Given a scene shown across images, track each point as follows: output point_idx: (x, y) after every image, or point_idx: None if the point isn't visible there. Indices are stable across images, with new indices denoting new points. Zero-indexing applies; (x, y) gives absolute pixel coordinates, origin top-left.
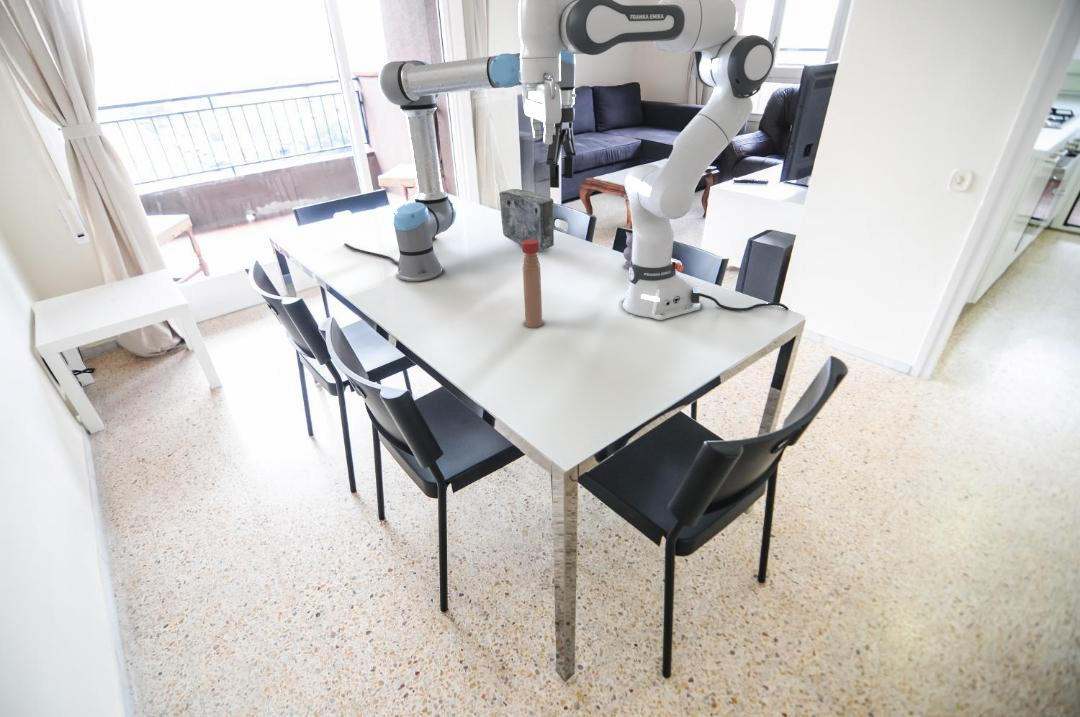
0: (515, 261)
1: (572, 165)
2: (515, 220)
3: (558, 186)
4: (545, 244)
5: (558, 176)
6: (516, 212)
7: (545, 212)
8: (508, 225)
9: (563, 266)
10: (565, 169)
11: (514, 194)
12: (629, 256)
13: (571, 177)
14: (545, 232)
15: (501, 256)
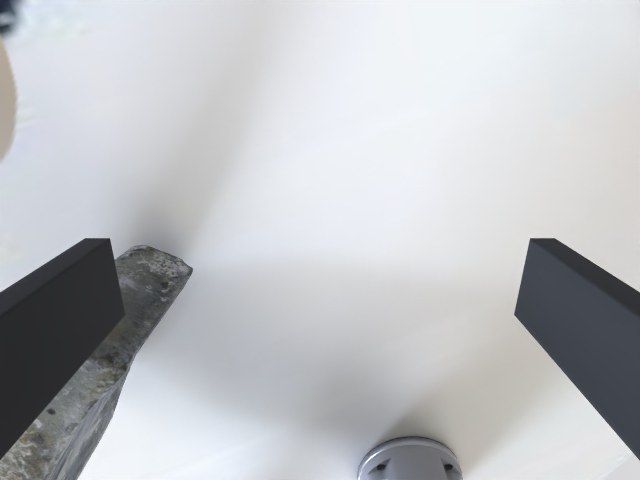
0: (261, 314)
1: (10, 304)
2: (94, 419)
3: (557, 243)
4: (176, 265)
5: (628, 289)
6: (79, 439)
7: (117, 328)
8: (99, 426)
9: (250, 164)
10: (76, 355)
11: None
12: None
13: (107, 249)
14: (157, 285)
15: (238, 362)
